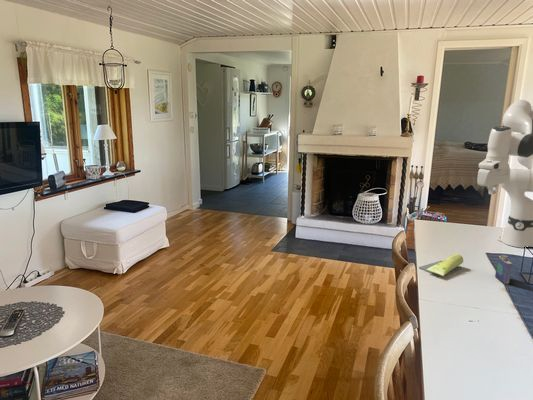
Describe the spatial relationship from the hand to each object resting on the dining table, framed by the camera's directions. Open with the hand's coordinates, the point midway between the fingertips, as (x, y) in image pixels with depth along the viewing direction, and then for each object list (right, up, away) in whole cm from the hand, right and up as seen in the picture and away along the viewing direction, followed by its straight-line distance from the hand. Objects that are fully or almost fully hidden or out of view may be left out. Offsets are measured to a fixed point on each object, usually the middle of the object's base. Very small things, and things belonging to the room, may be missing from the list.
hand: (491, 194), depth 181 cm
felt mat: (-26, -33, -5) cm, 42 cm away
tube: (-16, -29, -3) cm, 33 cm away
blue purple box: (-5, -36, -16) cm, 39 cm away
